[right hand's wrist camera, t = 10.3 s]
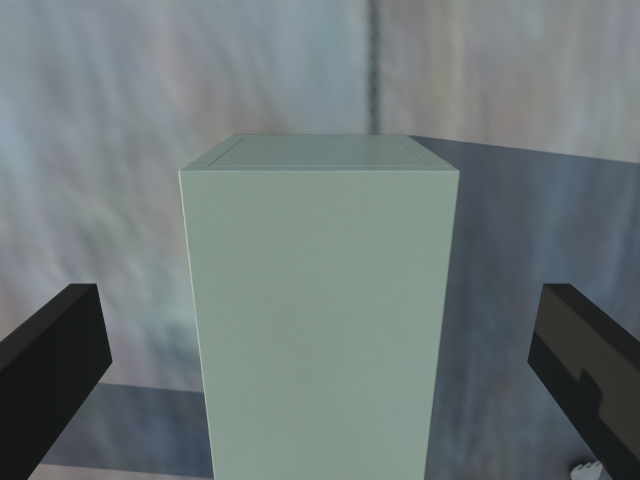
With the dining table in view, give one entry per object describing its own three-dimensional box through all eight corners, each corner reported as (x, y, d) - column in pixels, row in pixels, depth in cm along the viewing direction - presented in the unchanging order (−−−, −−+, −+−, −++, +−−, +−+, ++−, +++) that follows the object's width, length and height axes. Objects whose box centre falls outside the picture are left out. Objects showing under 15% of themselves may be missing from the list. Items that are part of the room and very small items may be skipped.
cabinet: (387, 406, 35) (416, 547, 24) (251, 406, 35) (221, 547, 24) (406, 134, 27) (461, 170, 17) (232, 134, 27) (177, 170, 17)
